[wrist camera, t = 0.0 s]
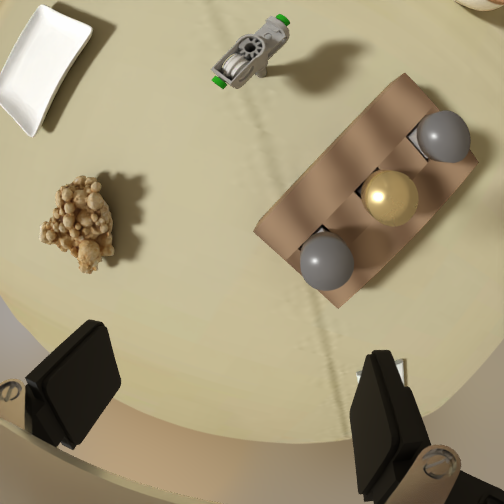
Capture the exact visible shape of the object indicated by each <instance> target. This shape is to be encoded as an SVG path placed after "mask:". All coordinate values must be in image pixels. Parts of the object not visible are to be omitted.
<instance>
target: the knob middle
mask: <svg viewBox="0 0 504 504" xmlns="http://www.w3.org/2000/svg"><path fill="white" fill-rule="evenodd" d="M356 191H357V192H358V194H359V195H360V196H361V200H362V203H363V206H364V208H365V210H366V211H367V212H368V213H369V214H370V215H371V216H372V217H374V218H375V219H376V220H377V221H379V222H380V223H382V224H383V225H386V226H392V227H394V226H400V225H403V224H405V223H406V222H408V221H409V220H410V219H411V218H412V217H413V215H414V214H415V212H416V210H417V206H418V191H417V188H416V186H415V184H414V182H413V181H412V180H411V179H410V178H409V177H408V176H407V175H405V174H403V173H401V172H397V171H391V170H378V171H373V172H372V173H371V174H370V175H369V176H368V177H367V178H366V179H365V180H364V181H363V182H362V183H361V185H360V186H359V187H358V188H357V189H356Z"/></svg>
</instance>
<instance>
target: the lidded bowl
mask: <svg viewBox="0 0 504 504" xmlns="http://www.w3.org/2000/svg"><path fill="white" fill-rule="evenodd" d="M454 1H455V2H457V3H459V4H461V5H463V6H466V7H468V8H471V9H474V10H478V11H490V10H494V9H497V8H500V7H502V6H504V0H454Z"/></svg>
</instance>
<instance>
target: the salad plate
mask: <svg viewBox="0 0 504 504" xmlns="http://www.w3.org/2000/svg"><path fill="white" fill-rule="evenodd" d="M92 33H93V28H92V27H91V26H90V25H87V24H85V23H83V22H81V21H78V20H76V19H73V18H71V17H68V16H66V15H64V14H61V13H59V12H57V11H55V10H54V9H52V8H50V7H49V6H46V5H40V6H39V7H38V8H37V9H36V11H35V12H34V14H33V15H32V17H31V18H30V20H29V21H28V23H27V25H26V26H25V28H24V29H23V31H22V33H21V35H20V36H19V38H18V40H17V42H16V43H15V45H14V47H13V49H12V51H11V53H10V55H9V57H8V59H7V61H6V63H5V65H4V67H3V69H2V71H1V74H0V105H1V106H2V107H3V108H4V109H5V110H6V111H7V112H8V114H9V115H10V116H11V117H12V118H13V119H14V120H15V121H16V122H17V123H18V125H19V126H20V127H21V128H22V129H23V130H24V131H25V132H26V133H27V135H29V136H30V137H34V136H35V135H36V134H37V133H38V132H39V130H40V128H41V126H42V124H43V121H44V119H45V117H46V114H47V112H48V110H49V108H50V105H51V103H52V101H53V99H54V97H55V95H56V93H57V91H58V89H59V87H60V85H61V84H62V82H63V80H64V78H65V77H66V75H67V73H68V71H69V70H70V68H71V66H72V65H73V63H74V62H75V60H76V59H77V57H78V55H79V54H80V53H81V51H82V50H83V48H84V47H85V45H86V44H87V42H88V41H89V39H90V37H91V35H92Z"/></svg>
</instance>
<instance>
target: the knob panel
mask: <svg viewBox="0 0 504 504" xmlns="http://www.w3.org/2000/svg"><path fill="white" fill-rule="evenodd" d="M436 112H440V110H439V109H438V108H437V107H436V105H435V104H434V103H433V102H432V101H431V100H430V99H429V98H428V96H427V95H426V94H425V93H424V92H423V91H422V90H421V89H420V88H419V87H418V86H417V84H416V83H415V82H414V81H413V80H412V79H411V78H410V77H409V76H408V75H407V74H406V73H403V74H402V75H401V76H399V77H398V78H397V79H395V80H394V81H393V82H391V83H390V84H389V85H388V86H387V87H386V88H385V89H384V90H383V91H382V92H381V93H380V94H379V95H378V96H377V97H376V98H375V99H374V100H373V101H372V102H371V103H370V104H369V105H368V106H367V107H366V108H365V109H364V111H363V112H362V113H361V114H360V115H359V116H358V117H357V118H356V119H355V120H354V121H353V122H352V123H351V124H350V125H349V126H348V127H347V128H346V129H345V130H344V131H343V132H342V133H341V134H340V135H339V136H338V137H337V139H336V140H335V141H334V142H333V143H332V144H331V145H330V146H329V147H328V148H327V149H326V150H325V151H324V152H323V153H322V154H321V155H320V156H319V157H318V158H317V160H316V161H315V162H314V163H313V164H312V165H311V166H310V167H309V168H308V169H307V170H306V171H305V172H304V173H303V174H302V175H301V176H300V177H299V179H298V180H297V181H296V182H295V183H294V184H293V185H292V186H291V187H290V188H289V189H288V190H287V191H286V192H285V193H284V194H283V196H282V197H281V198H280V199H279V200H278V201H277V202H276V203H275V204H274V205H273V206H272V207H271V208H270V209H269V211H268V212H267V213H266V214H265V215H264V216H263V217H262V218H261V219H260V220H259V222H258V224H257V225H256V227H255V229H254V231H253V232H254V233H255V234H256V235H258V236H259V237H260V238H261V239H262V240H263V241H264V242H265V243H266V244H268V245H269V246H270V247H271V248H272V249H273V250H274V251H275V252H276V253H278V254H279V255H280V256H281V257H282V258H283V259H284V260H285V261H286V262H287V263H289V264H290V265H291V266H292V267H293V268H294V269H295V270H296V271H297V272H298V273H300V274H301V275H302V273H301V267H300V252H301V248H302V244H303V243H304V242H305V241H306V240H307V239H308V238H309V237H310V236H311V235H312V234H313V233H314V232H315V231H316V230H317V229H318V228H319V227H320V226H321V225H322V226H323V227H324V228H325V229H326V230H327V231H328V232H331V233H335V234H337V235H338V236H340V237H341V238H342V239H343V240H344V241H345V243H346V244H347V246H348V248H349V249H350V251H351V253H352V255H353V259H354V270H353V273H352V275H351V277H350V279H349V280H348V281H347V282H346V283H345V284H344V285H343V286H341V287H340V288H338V289H335V290H331V291H322V290H318V289H317V290H318V291H319V292H320V293H321V294H322V295H324V296H325V297H326V298H327V299H328V300H329V301H330V302H331V303H332V304H333V305H334V306H336V307H337V308H340V307H341V306H342V305H343V304H344V303H345V302H346V301H348V300H349V299H350V298H351V297H352V296H353V295H354V294H355V293H356V292H357V291H359V290H360V289H361V288H362V287H363V286H364V285H365V284H366V283H367V282H368V281H369V280H370V279H371V278H373V277H374V276H375V275H376V274H377V273H378V272H379V271H380V270H381V269H382V268H383V267H384V266H385V265H386V264H387V263H388V262H389V261H390V260H391V259H392V258H393V257H394V256H395V255H396V254H397V253H398V252H399V251H400V250H401V249H402V248H403V247H404V246H405V245H406V244H407V243H408V242H409V241H410V240H411V239H412V238H413V237H414V236H415V235H416V234H417V233H418V232H419V231H420V229H421V228H422V227H423V226H424V225H425V224H426V223H427V222H428V221H429V220H430V219H431V218H432V217H433V215H434V214H435V213H436V212H437V211H438V210H439V209H440V208H441V207H442V205H443V204H444V203H445V202H446V201H447V200H448V199H449V197H450V196H451V195H452V194H453V193H454V192H455V191H456V189H457V188H458V187H459V186H460V185H461V183H462V182H463V181H464V180H465V179H466V177H467V176H468V175H469V174H470V173H471V171H472V170H473V169H474V168H475V166H476V165H477V164H478V163H479V162H478V160H477V159H476V158H475V156H474V155H473V153H472V152H471V150H470V149H469V152H468V154H467V155H466V157H465V158H464V159H463V160H461V161H459V162H456V163H448V162H437V161H433V160H431V159H429V158H423V156H422V155H421V154H420V153H419V152H418V150H417V149H416V148H415V147H414V146H413V145H412V143H411V142H410V141H409V140H408V139H407V138H406V136H407V134H408V133H409V132H410V131H411V130H412V129H413V128H414V127H415V126H416V125H417V124H418V122H419V121H421V119H422V118H423V117H425V116H426V115H429V114H432V113H436ZM378 170H391V171H397V172H401V173H403V174H405V175H407V176H408V177H409V178H410V179H411V180H412V181H413V182H414V184H415V186H416V188H417V191H418V206H417V210H416V212H415V214H414V215H413V217H412V218H411V219H410V220H409V221H408V222H406V223H405V224H403V225H400V226H394V227H392V226H386V225H383V224H382V223H380V222H379V221H377V220H376V219H375V218H374V217H372V216H371V215H370V214H369V213H368V212H367V211H366V210H365V208H364V206H363V203H362V200H361V196H360V195H359V194H358V192H357V191H356V189H357V188H358V187H359V186H360V185H361V183H362V182H363V181H364V180H365V179H366V178H367V177H368V176H369V175H370V174H371V173H372V172H373V171H378Z"/></svg>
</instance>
